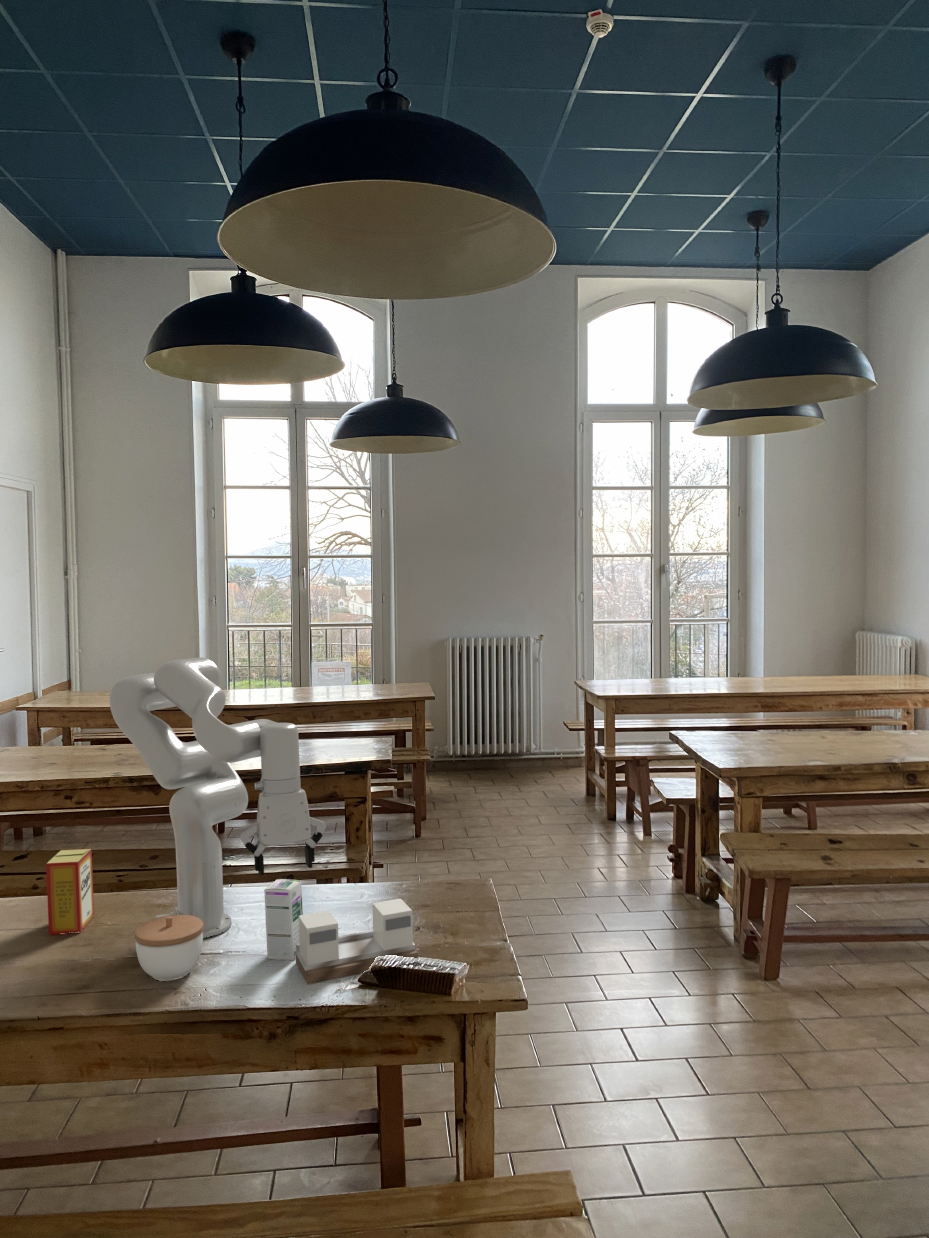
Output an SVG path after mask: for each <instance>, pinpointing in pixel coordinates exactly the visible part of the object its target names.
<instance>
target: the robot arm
mask: <svg viewBox="0 0 929 1238" xmlns="http://www.w3.org/2000/svg"><path fill="white" fill-rule="evenodd" d="M221 678H222V677H221V672H220V669H219V667H218V665H217V664H216V663H215V662H214V661H213V660H211V659H209V658H207V657H191V658H182V659H181V658H180V659H174V660H169V661H166V662H164V663H162V664H161V665H160V666H159V667H158V668H157V669H156V671H155V672H150V673H149V672H148V673H140V674H133V675H130V676H127V677H124V678H121V679H119V680H118V681H117V682H116V683H114V684H113V686H112V687H111V690H110V693H109V707H110V712H111V715H112V717H113V720H114V721H115V724H116V725H117V726H118V728H119V730H120V731H121V732H122V733H123V734H124V735H125V737H127V739H128V740H129V741H130V742H131V743H132V745H133V746H134V747H135V749H136V751H138V753H139V755H140V756H141V759H142V760H143V762H144V763H145V764H146V766H147V768H148V769H149V771H150V773H151V774H152V776H153V777H154V778H155V780H156V781H157V783H158V784H159V785H160V786H161V787H162V788H164V789H166V790H176V789H178V790H177V791H176V792H175V793H174V794H173V795H172V797H171V799H170V801H169V806H168V807H169V808H168V809H169V811H168V812H169V817H170V821H171V825H172V829H173V834H174V835H173V836H174V843H175V845H174V846H175V861H176V883H177V884H176V886H177V887H176V888H177V889H176V890H177V893H176V894H177V906H174V908H175V910H174V911H171V912H170V913H166V914H164V913H163V914H162V913H161V914H156V915H155V919H156V918H159V917H164V916H170V915H190V916H195V917H198V918H199V919H201V920H202V921H203V939H207V938H211V937H210V936H212V937H214V936H213V935H215V936H218V935H220V934H223V933H224V932H226V931H228V930H229V929H230V928H231V927H232V917H231V916H230V915H228V914H226V913H224V911H225V910H224V909H225V908H224V907H225V906H224V883H223V882H224V881H223V878H224V877H223V851H222V849H223V848H222V842H221V840H220V838H219V836H218V835H217V833H216V832H215V831H214V829H213V826H214V825H216V824H219V823H222V822H223V823H224V822H226V821H229V820H232V819H235V818H237V817H239V816H241V815H242V814H243V813H244V812H245V811H246V810H247V808H248V804H249V794H248V791H247V787H246V785H245V784H244V782H243V780H242V778H241V777H240V776H239V774H238V773H237V771H236V770H235V768H234V767H233V765H232V763H237V762H241V761H245V760H249V759H254V758H259V757H260V763H261V764H260V767H261V777H260V781H258V782H255V783H254V789H255V790H259V791H260V790H261V792H259V795H258V801H257V812H256V823H254V824H253V825H251V826H250V827H248V828H247V829H245V830H244V831H241V833H239V834H238V837H239V839H240V840H241V842H242V843H243V846H244V847H245V848H246V849H247V850H248V851H249V852H250V853H251V854H252V855H253V856H254V870H255V871H256V872H258V874H259V876H260V877H263V876H264V875H265V863H264V862H265V861H264V855H263V854H262V853H263V852H264V850H265V848H266V847H275V846H282V845H288V844H296V843H301V842H305V846H304V859H305V861H304V862H305V865H306V866H307V868H309V869H312V868H313V863H315V861H316V860H315V859H316V858H315V848H316V846H317V844H318V843H319V841H320V840H321V839H322V838H323V834H324V833H325V830H326V828H327V823H326V822H325V821H323V820H321V819H317V818H314V817H311V816H310V810H309V802H308V798H307V797H308V796H307V793H306V790H304V789H303V788H302V786H301V766H300V763H301V762H300V745H299V744H300V743H299V741H300V739H299V729H298V726H297V725H296V724H294V723H290V722H276V721H273V720H271V719H267V718H259V719H254V720H253V719H252V720H248V721H243V722H237V723H232V724H226V723H225V722H223V721H222V720H220V719H219V718H218V717H219V716H220V714H221V713H222V712H223V710H224V707H225V705H226V701H227V700H226V693H225V692H224V690H222V688H221V687H220V683H221ZM174 707H176V708H178V709H179V710H181V711H183V713H185V714H186V715H187V716H188V717H189V718H191V726H192V727H191V728H192V732H193V734H194V736H195V737H194V738H195V739H196V740H193V741H188V742H185V741H181V740H180V739H179V737H177V734H176V733H175V731H174V730H173V728H171V726H170V725H169V724H168V723H167V722H166V721H164V720H163V719H162V718H160V717H159V716H157V715H154V714H152V713H151V712H152V711H156V710H163V709H169V708H174ZM311 825H312V826H314V827H317V828H316V831H315V832H314V833H313V834H312V833H311V832H312V830H311V828H312V827H311ZM254 834H256V837H257V839H258V840H257V842H256V843H254V844H253V843H252V842H251V841H250V839H249V838H250V837H251V836H252V835H254ZM311 835H312V836H311ZM229 927H230V928H229ZM228 928H229V929H228ZM222 932H223V933H222ZM206 937H207V938H206Z"/></svg>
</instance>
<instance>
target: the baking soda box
mask: <svg viewBox="0 0 929 1238" xmlns="http://www.w3.org/2000/svg"><path fill="white" fill-rule="evenodd" d="M92 853H93V852H92V848H76V849H75V848H74V849H61V850H60V851H58V852H57V853H56V854H55V855H54V856H53V857H52V858H51V859H49V860H48V862H46V863H45V872H46V873H45V874H46V892H47V893H46V895H47V916H48V917H47V918H48V936H52V935H51V934H60V933H69V932H70V933H71V932H78V931H79V932H81V930H82V929H83V928H84V927H85V925H86V924H87V923H88V921H89V920H90V919H91V917H92V916H93V915H94V916H95V904H94V881H93V880H94V877H93V875H94V874H93V857H92V856H93V855H92ZM85 928H86V927H85ZM81 933H82V932H81Z"/></svg>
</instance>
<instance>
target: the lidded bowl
mask: <svg viewBox="0 0 929 1238" xmlns="http://www.w3.org/2000/svg"><path fill="white" fill-rule="evenodd" d="M134 941H135V951H136V956H137V960H138V963H139V964H140V967H141V968H142V970H143V971H144V972H145V973H146V974H147V975H149V976H150V977H151V976H152V977H153V978H155V979H159V980H172V979H175V978H179V977H182V976H184V975H186V974H187V973H188V972H189V971H190V972H191V970H192V969H193V968H194V967H195V965H196V964H197V963H198V961H199V959H200V957H201V955H202V954H201V953H202V952H203V951H202V949H203V946H204V945H203V944H204V942H203V941H204V938H203V921H202V920H201V919H199V918H198V917H195V916H190V915H170V916H164V917H159V918H156V917H155V918H153V919H152V918H151V919H150V920H148V921H145V922H143V923H142V924H140V925H138V927H137V928H136V929H135V931H134ZM186 976H187V975H186ZM152 977H151V978H152Z"/></svg>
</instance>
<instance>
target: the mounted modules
mask: <svg viewBox="0 0 929 1238" xmlns="http://www.w3.org/2000/svg"><path fill="white" fill-rule="evenodd" d="M371 904H372V905H371V906H372V930H373V938H374V939H375V940H376V941H377V943H378V944H379V945H380V946H381V948H382V949H383V950H389V949H395V948H400V947H405V946H410V945H413V943H414V941H413V940H414V938H413V936H414V935H413V934H414V932H413V930H414V929H413V910H412V908H411V907H409V905H407V903H405V901H404V900H403V899H402V898H396V899H389V900H384V901H378V902H372V903H371ZM338 936H339V923H338V921H337V920H336V918H335V916H333V913H331V912H330V910H324V911H319V912H312V913H307V914H306V913H305V914H303V915H299V946H300V952H301V954H302V956H303V958H304V959H305V961H306V963H307V965H311V964H316V963H321V962H327V961H332V960H337V959H339V945H338Z"/></svg>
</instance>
